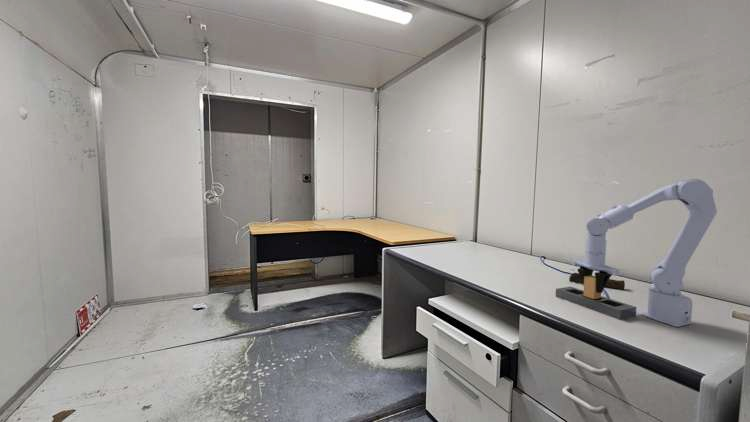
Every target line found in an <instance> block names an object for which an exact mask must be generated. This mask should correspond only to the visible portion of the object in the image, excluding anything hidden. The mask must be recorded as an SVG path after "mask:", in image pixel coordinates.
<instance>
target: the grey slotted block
mask: <svg viewBox="0 0 750 422" xmlns="http://www.w3.org/2000/svg"><path fill="white" fill-rule="evenodd" d="M583 294H584V289H583V290H582V289H580V288H576V287H575V286H574V287H573V286H565V287H560V288H555V297H556V298H558V299H561V300H564V301H567V302H570V303H572V304H575V305H578V306H582V307H584V308H586V309H589V310H592V311H594V312H597V313H601V314H603V315H606V316H609V317H612V318H614V319H617V320H625V319H629V318H634V317H636V316H637V306H634V305H632V304H631V305H630V304H628V303H625V302H621V301H618V300H615V299H612V298H608V297H606V296H602V295H601V298H597V299H592V298H589V297H586V296H583Z"/></svg>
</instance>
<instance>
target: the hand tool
mask: <svg viewBox="0 0 750 422" xmlns="http://www.w3.org/2000/svg"><path fill="white" fill-rule="evenodd" d="M568 280H569V282H570V283H573V282H575V284H579V283H580V285H583V281H582V278H581V276H580V274H579V272H572V273H571V274H570V276H569V277H568ZM605 287H606V288H612V289H616V290H619V289H620V290H621V291H624V290H625V289H626V288H625V287H626V285H625V280H623V279H622V280H617V279H611V278H609V280H608V281H607V282H606V284H605V286H604V288H605Z"/></svg>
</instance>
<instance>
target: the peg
mask: <svg viewBox="0 0 750 422" xmlns="http://www.w3.org/2000/svg"><path fill="white" fill-rule="evenodd" d="M583 291H584V294H583V296H586V297H589V298H592V299H597V298H601V296H602V293H597V292H596V277H595V275H593V274H592V275H590V276H584V285H583Z"/></svg>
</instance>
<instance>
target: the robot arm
mask: <svg viewBox="0 0 750 422" xmlns="http://www.w3.org/2000/svg"><path fill="white" fill-rule="evenodd" d="M666 201H680V202H681V203H683V205H684V207H686V209H687V210H688V212H689V213H688V216H687V218H686V220H685V222H684V223H683V225H682V227H681V229H680V230H679V232H678V235H676V238H675V239H674V241H673V243H672V245H671V246H670V249H669V250H668V252H667V253H666V256H665V258H664V259H662V260H661V261H660V262H659V264H658V265H657V267H654V268H653V269H652V270H651V271H650V272H649V278H650V281H651V282H652V284H651V285H650V286H648V295H647V296H648V300H647V311H646V312H642V313H640V316H641V317H642V316H643V317H646V318H648V319H652V320H655V321H658V322H661V323H665V324H666V325H671V326H673V327H677V328H679V327H683V326H687V325H691V324H693V321H692V313H693V300H692V298H691V297H689V296H685V295H684V294H682V291H681V290H682V289H683V286H684V285H683V284H684V282H683V279H684V277H685V273H686V267H687V265H688V263H689V262H690V259H691V258H692V257H693V255H694V254H695V251H696V250H697V248H698V246H699V245H700V242H701V240H702V239H703V237H704V236H705V234H706V232H707V231H708V229H709V227H710V226H711V224H712V222H713V220H714V219H715V218H716V217H715V216H716V215H717V214H718V209H717V206H716V203H715V199H714V190H713V189H712V188H711V187H710V186H709V185H708V184H707V182H706V181H704V180H701V179H699V178H691V179H690V178H689V179H682V180H679V181H677V182H675V183H671V184H669V185H666V186H663V187H661V188H658V189H656V190H654V191H653V192H650V193H649V194H647V195H645V196H643V197H641V198H640V199H637V200H635V201H634V202H633V203H630V204H628V205H626V204H625V205H624V204H619V205H616V204H615V205H613V206H611V208H610V209H609V210H606V211H605V212H603V213H598V214H597V215H596V216H597V217H593V218H590V219H589V220H588V221H587V222H586V225H585V226H586V231H587V233H586V238H585V250H584V251H585V252H584V261H583V260H577V259H573V260H572V262H571V263H572V264H571V265H572V266H573V267H578V268H577V273H579V274H580V276H581V278H582V281H583V284H582V285H583V286H584V276H590V275H592V276H593V273H594V276H595V277H596V292H597V293H601V294H602V293H603V291H604V289H605V287H604V286H605V284H606V282H607V281H608V280H609V279H611V277H612V276H614V277H616V276H620V269H618V268H614V267H611V266H609V265H606V255H607V253H606V251H607V240H606V237H607V232H608V230H609V229H614V228H617V227H619V226H621V225H623V224H625V223H628V222H630V221H632V220H633V218H634V215H635V214H636V213H639V212H642V211H643V210H646V209H648V208H650V207H652V206H654V205H657V204H659V203H661V202H666ZM594 271H597V272H594Z"/></svg>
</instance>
